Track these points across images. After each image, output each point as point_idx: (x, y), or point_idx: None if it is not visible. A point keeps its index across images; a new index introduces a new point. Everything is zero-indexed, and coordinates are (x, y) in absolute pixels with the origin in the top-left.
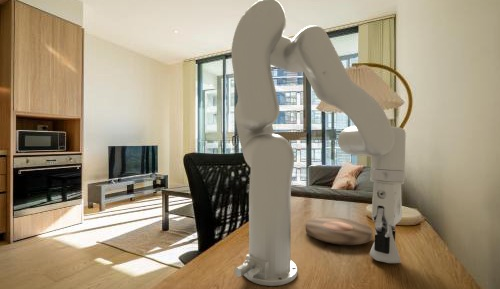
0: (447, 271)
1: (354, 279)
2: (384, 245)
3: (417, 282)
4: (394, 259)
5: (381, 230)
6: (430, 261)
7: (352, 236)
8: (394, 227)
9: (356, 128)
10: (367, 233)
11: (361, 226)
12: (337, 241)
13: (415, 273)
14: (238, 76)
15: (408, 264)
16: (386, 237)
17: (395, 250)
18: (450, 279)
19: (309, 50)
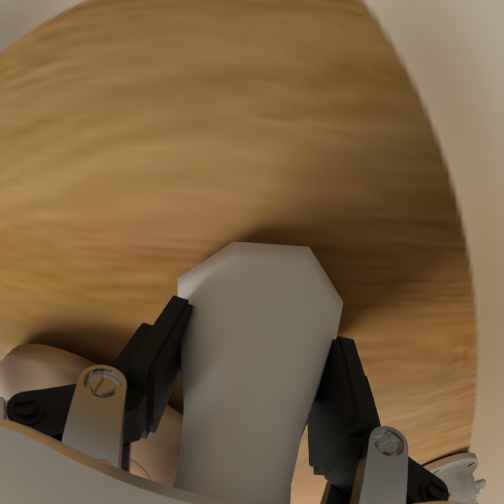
0: (232, 13)
1: (453, 380)
2: (371, 393)
3: (438, 181)
4: (323, 287)
5: (451, 492)
6: (133, 80)
7: (168, 448)
8: (96, 387)
9: None
10: None
11: (24, 390)
12: None
13: (348, 171)
14: None
15: (239, 192)
16: (392, 433)
17: (303, 307)
18: (332, 20)
19: None
